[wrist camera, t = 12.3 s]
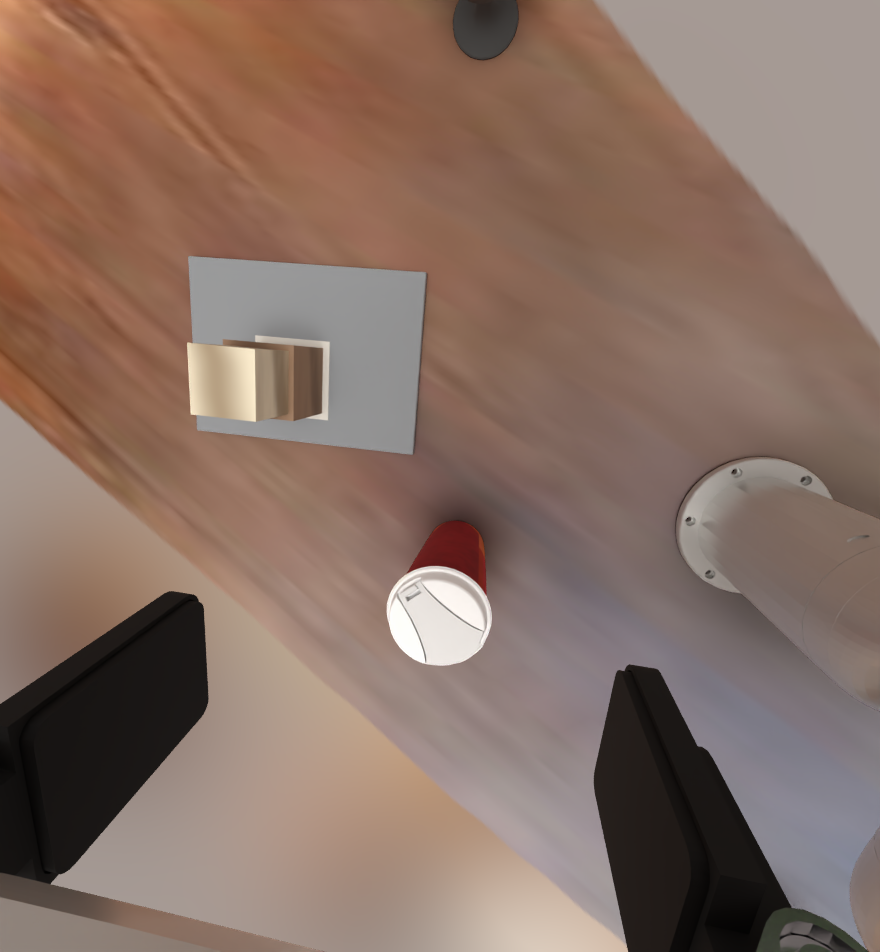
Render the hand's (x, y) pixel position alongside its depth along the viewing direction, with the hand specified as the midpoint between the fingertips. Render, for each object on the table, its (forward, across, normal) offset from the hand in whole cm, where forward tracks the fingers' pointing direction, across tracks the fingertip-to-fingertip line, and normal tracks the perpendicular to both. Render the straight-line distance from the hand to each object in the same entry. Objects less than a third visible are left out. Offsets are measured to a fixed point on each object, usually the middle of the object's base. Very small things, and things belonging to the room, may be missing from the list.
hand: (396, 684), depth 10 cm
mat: (+33, +17, -6) cm, 38 cm away
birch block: (+26, +18, -4) cm, 32 cm away
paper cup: (+34, +1, +11) cm, 35 cm away
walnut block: (+32, +18, -4) cm, 37 cm away
